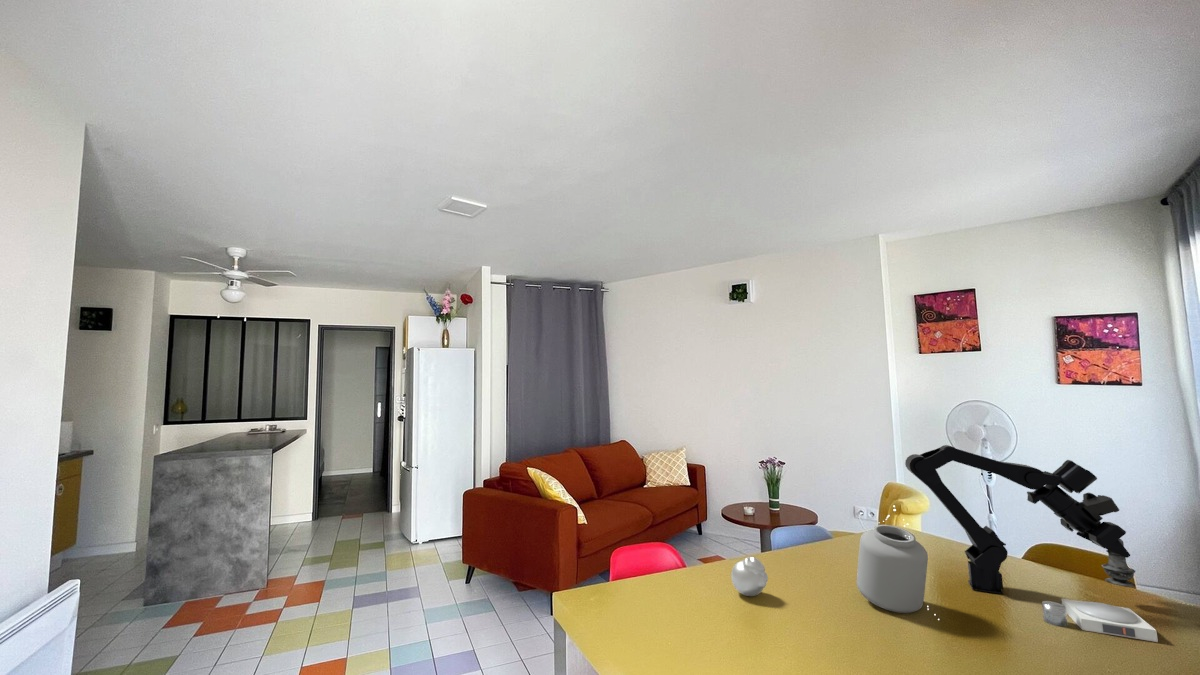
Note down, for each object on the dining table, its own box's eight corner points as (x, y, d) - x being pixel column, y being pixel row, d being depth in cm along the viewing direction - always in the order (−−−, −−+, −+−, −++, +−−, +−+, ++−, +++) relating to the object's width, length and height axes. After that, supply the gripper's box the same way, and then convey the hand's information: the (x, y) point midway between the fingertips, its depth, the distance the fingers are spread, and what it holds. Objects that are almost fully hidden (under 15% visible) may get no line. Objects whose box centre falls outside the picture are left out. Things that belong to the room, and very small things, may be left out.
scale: (1083, 631, 109) (1081, 616, 109) (1062, 608, 120) (1061, 596, 120) (1159, 643, 103) (1157, 628, 103) (1130, 618, 114) (1128, 605, 114)
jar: (955, 621, 114) (945, 511, 117) (900, 627, 111) (892, 514, 114) (893, 589, 132) (886, 495, 135) (845, 594, 129) (838, 497, 132)
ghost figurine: (748, 605, 123) (747, 564, 125) (725, 591, 132) (723, 553, 133) (776, 599, 127) (774, 559, 128) (751, 586, 136) (749, 548, 137)
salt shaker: (1144, 588, 119) (1138, 537, 120) (1115, 586, 120) (1110, 536, 122) (1124, 579, 125) (1118, 530, 126) (1096, 577, 126) (1091, 529, 127)
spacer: (1047, 624, 112) (1045, 606, 112) (1041, 617, 115) (1039, 599, 116) (1070, 628, 110) (1068, 609, 111) (1063, 620, 114) (1061, 602, 114)
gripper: (1110, 491, 118) (1178, 544, 113) (1070, 478, 135) (1128, 523, 130) (1071, 521, 120) (1137, 574, 115) (1037, 505, 137) (1092, 550, 132)
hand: (1123, 554), depth 123 cm, fingers closed on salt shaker, 4 cm apart
